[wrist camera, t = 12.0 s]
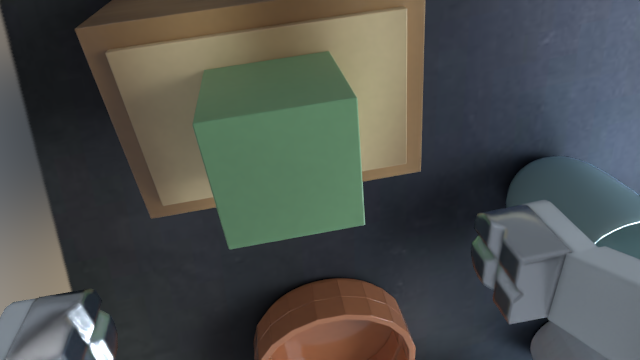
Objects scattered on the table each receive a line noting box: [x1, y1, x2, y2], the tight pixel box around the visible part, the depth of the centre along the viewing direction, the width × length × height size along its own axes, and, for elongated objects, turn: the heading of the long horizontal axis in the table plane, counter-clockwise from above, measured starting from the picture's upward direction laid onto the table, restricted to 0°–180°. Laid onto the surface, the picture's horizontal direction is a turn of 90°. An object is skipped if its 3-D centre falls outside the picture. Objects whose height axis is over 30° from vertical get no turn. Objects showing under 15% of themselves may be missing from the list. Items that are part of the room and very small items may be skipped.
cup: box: [506, 156, 640, 259], centre depth 32 cm, size 8×8×10 cm
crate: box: [75, 0, 425, 218], centre depth 22 cm, size 12×8×12 cm, turn 96°
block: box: [192, 51, 365, 249], centre depth 15 cm, size 4×4×4 cm
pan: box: [254, 278, 415, 360], centre depth 40 cm, size 14×14×4 cm
